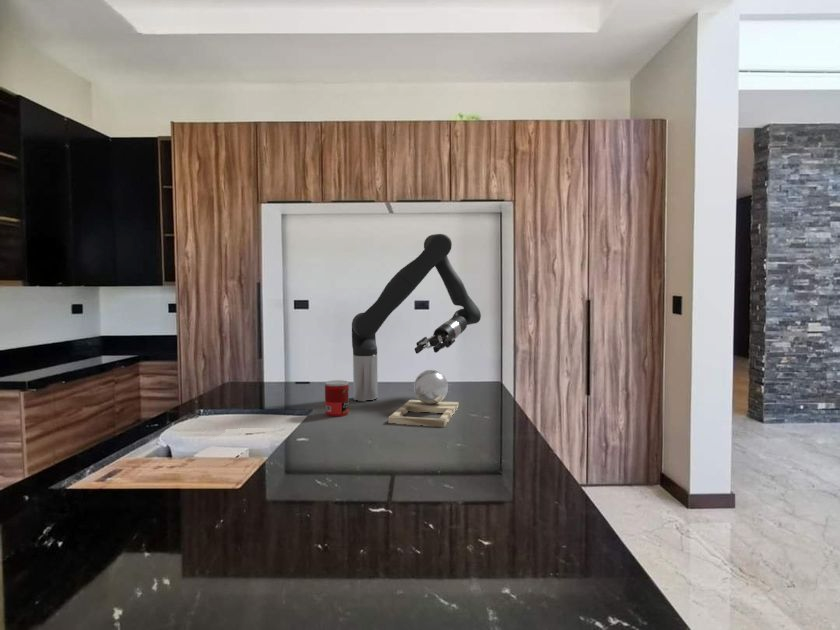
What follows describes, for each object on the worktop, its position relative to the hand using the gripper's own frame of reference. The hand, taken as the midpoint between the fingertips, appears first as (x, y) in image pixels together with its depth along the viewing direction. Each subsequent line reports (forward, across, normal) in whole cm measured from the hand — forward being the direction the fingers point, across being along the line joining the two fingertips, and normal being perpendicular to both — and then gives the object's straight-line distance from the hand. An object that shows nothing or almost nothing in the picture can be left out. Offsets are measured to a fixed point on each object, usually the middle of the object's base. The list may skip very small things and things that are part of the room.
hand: (425, 350), depth 187 cm
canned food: (+32, -19, +8) cm, 38 cm away
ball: (+7, +4, +11) cm, 14 cm away
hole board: (+17, +6, +16) cm, 24 cm away
